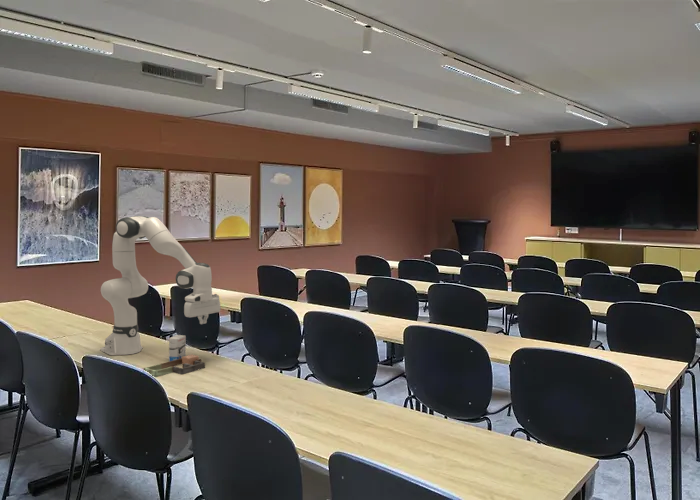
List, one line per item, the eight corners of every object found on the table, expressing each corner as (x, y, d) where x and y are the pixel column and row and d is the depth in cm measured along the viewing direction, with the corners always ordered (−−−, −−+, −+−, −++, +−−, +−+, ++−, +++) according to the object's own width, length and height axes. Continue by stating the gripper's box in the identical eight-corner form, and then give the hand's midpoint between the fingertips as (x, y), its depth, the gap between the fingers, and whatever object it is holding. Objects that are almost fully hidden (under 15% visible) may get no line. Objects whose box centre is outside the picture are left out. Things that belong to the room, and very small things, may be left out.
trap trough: (143, 373, 266) (143, 368, 266) (189, 361, 287) (189, 356, 287) (164, 379, 257) (164, 373, 257) (209, 366, 278) (209, 361, 278)
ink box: (178, 362, 284) (177, 338, 283) (168, 361, 285) (168, 338, 284) (186, 358, 293) (186, 335, 292) (177, 357, 294) (176, 334, 293)
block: (182, 365, 281) (182, 356, 280) (192, 362, 286) (191, 354, 285) (188, 366, 278) (188, 358, 278) (198, 364, 283) (198, 355, 282)
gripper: (214, 292, 296) (214, 319, 297) (181, 297, 279) (182, 326, 280) (223, 293, 292) (223, 321, 293) (190, 299, 276) (190, 327, 277)
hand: (203, 323), depth 287 cm, fingers closed
